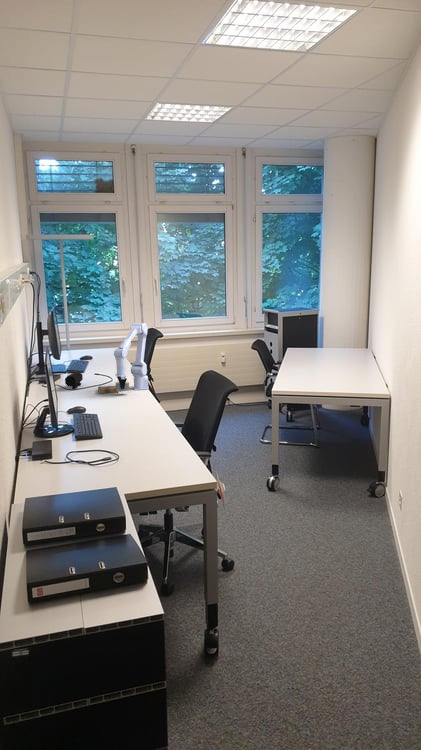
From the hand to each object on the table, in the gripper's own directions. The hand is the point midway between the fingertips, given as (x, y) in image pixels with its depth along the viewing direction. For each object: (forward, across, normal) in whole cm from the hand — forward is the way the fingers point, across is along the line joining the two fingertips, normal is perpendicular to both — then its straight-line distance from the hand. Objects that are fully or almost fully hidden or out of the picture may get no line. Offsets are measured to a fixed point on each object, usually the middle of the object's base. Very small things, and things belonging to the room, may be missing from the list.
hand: (122, 388), depth 348 cm
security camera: (+5, -29, -29) cm, 41 cm away
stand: (+4, -12, -8) cm, 15 cm away
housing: (+2, 0, 0) cm, 2 cm away
